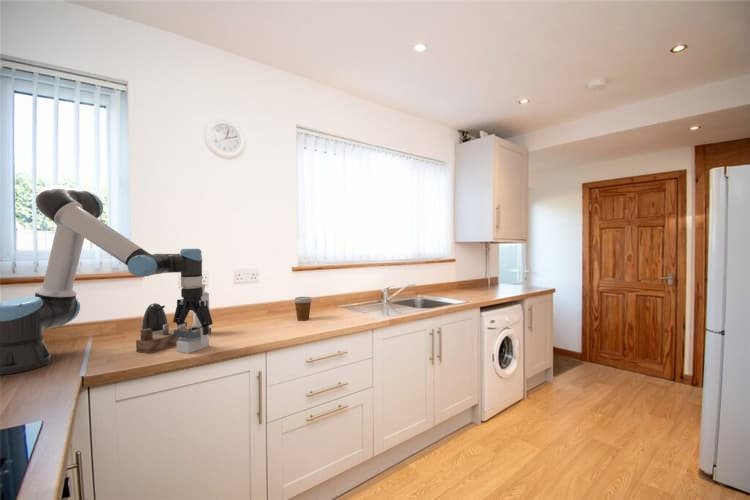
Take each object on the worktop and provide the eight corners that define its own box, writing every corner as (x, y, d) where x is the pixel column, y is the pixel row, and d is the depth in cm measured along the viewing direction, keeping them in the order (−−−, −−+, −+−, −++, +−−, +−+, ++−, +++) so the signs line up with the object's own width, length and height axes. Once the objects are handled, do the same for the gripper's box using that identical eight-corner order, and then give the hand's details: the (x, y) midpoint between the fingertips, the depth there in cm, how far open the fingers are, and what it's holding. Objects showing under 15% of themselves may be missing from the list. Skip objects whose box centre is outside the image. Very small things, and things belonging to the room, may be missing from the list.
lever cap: (194, 339, 131) (194, 329, 130) (173, 336, 134) (173, 327, 134) (211, 333, 138) (211, 324, 138) (191, 331, 142) (190, 322, 142)
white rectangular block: (188, 353, 131) (187, 342, 130) (176, 351, 133) (176, 341, 133) (208, 345, 140) (208, 336, 140) (197, 344, 142) (197, 334, 142)
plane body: (148, 353, 131) (148, 331, 131) (136, 351, 133) (135, 329, 133) (192, 339, 150) (192, 320, 149) (181, 337, 152) (180, 319, 152)
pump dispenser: (155, 340, 149) (155, 305, 148) (135, 339, 151) (135, 305, 151) (173, 334, 159) (173, 301, 158) (155, 333, 161) (154, 301, 161)
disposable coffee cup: (315, 318, 188) (315, 297, 188) (303, 322, 180) (303, 299, 180) (303, 316, 193) (302, 296, 193) (290, 320, 185) (290, 298, 185)
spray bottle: (191, 334, 158) (190, 280, 158) (206, 331, 163) (205, 279, 163) (196, 336, 154) (195, 281, 153) (212, 333, 159) (211, 280, 158)
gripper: (222, 287, 135) (222, 341, 136) (178, 284, 143) (179, 336, 144) (206, 289, 128) (207, 347, 129) (162, 287, 136) (163, 341, 137)
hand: (192, 341), depth 136 cm, fingers closed on lever cap, 11 cm apart
